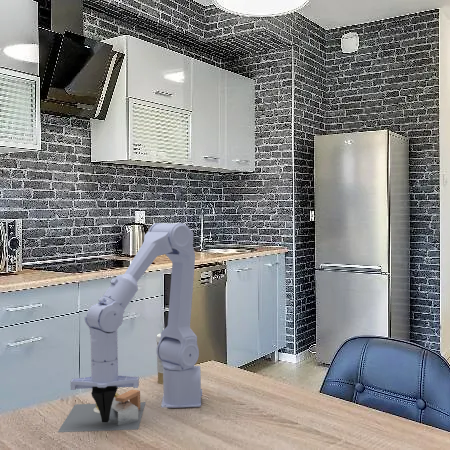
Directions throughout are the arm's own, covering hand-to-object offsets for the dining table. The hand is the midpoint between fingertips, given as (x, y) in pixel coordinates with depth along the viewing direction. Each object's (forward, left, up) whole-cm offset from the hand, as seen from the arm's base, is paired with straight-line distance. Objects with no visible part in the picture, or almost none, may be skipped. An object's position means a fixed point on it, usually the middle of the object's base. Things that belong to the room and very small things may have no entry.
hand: (105, 420), depth 121 cm
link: (-2, -6, -1) cm, 6 cm away
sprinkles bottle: (-11, -29, -1) cm, 32 cm away
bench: (+1, -5, -1) cm, 5 cm away
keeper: (-4, -6, -1) cm, 8 cm away
